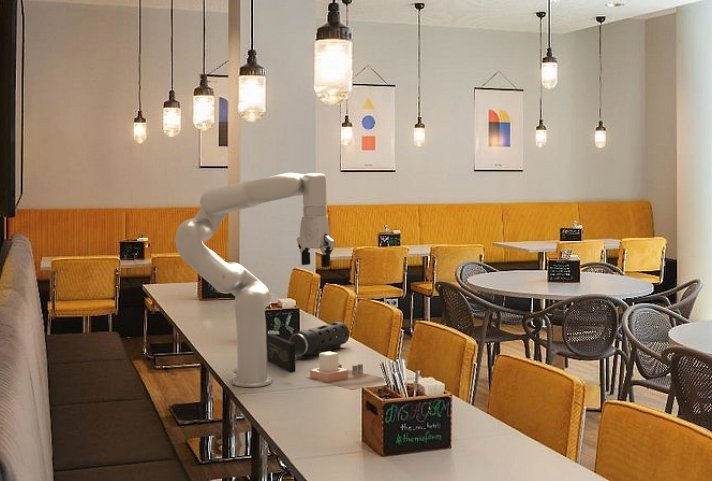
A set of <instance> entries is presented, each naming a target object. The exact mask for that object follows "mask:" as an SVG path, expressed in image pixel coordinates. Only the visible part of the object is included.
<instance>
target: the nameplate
mask: <svg viewBox="0 0 712 481" xmlns="http://www.w3.org/2000/svg"><path fill="white" fill-rule="evenodd" d="M266 345H267V363H270V364H272V365H275V366H276V367H278V368H280V369H282V370H285V371H286V372H289V373H291V372H292V373H293V372H296V356H295V344H294V343H293V342H291V341H289V340H287V339H286V338H283V337H280V336H279V335H276V334H274V333H269V334H266Z"/></svg>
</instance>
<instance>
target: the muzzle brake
mask: <svg viewBox="0 0 712 481" xmlns="http://www.w3.org/2000/svg"><path fill="white" fill-rule="evenodd" d="M349 339H350V330H349V328H348V326H347V325H346V324H345V323H344V322H342V321H335V322H331V323H328V324H324V325H321V326H317V327H314V328H310V329H303V330H299V331H295V332H294V333H293V334H292V336H291V337H289V340H288V341H291V342H293V343H294V344H295V357H300V358H305V357H306V358H311V357H314V356H315V354H317V353H318V354H319V353H323V352H328V351H331V350H335V349H337V348H341V346H342V345H344V344H346V343H347V342H348V341H349Z"/></svg>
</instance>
